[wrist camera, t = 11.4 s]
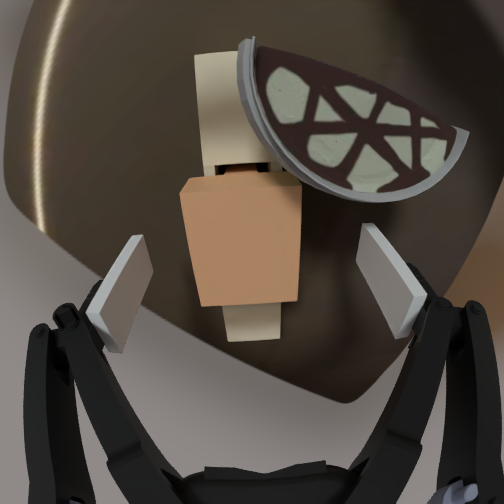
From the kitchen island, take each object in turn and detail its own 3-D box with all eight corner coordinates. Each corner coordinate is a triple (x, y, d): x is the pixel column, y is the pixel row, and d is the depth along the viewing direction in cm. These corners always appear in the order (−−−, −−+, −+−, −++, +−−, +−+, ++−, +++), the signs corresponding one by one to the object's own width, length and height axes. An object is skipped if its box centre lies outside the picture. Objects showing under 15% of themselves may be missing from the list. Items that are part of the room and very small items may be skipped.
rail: (201, 61, 15) (194, 55, 13) (272, 57, 15) (277, 50, 13) (228, 319, 28) (228, 341, 25) (276, 316, 28) (279, 338, 25)
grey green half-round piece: (222, 143, 19) (206, 180, 11) (239, 66, 16) (238, 33, 7) (368, 179, 21) (437, 236, 12) (389, 113, 18) (475, 136, 9)
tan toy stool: (198, 165, 20) (179, 193, 14) (284, 159, 19) (301, 185, 14) (210, 255, 24) (201, 306, 18) (284, 250, 24) (297, 300, 18)
